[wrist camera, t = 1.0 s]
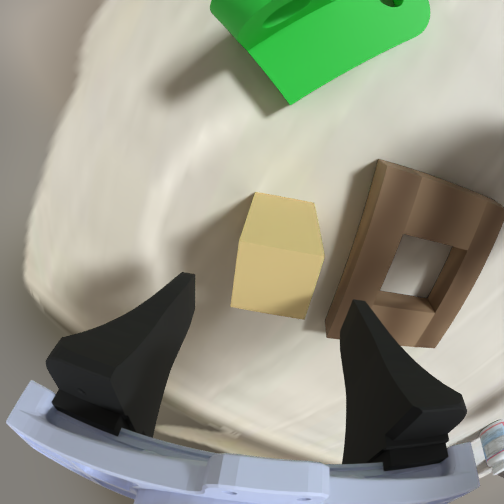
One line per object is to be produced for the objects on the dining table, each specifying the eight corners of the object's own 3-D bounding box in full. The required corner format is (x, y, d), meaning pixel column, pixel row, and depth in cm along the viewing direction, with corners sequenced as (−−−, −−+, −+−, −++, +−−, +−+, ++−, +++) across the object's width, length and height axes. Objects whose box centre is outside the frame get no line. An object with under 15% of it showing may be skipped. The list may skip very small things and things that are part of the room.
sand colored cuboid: (314, 203, 20) (324, 256, 14) (301, 253, 22) (304, 319, 16) (255, 191, 20) (239, 241, 14) (247, 243, 22) (230, 306, 16)
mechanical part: (290, 104, 17) (290, 109, 10) (232, 33, 15) (194, -3, 8) (433, 28, 12) (502, 7, 5) (380, -41, 10) (421, -92, 3)
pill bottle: (500, 425, 36) (512, 466, 26) (477, 437, 38) (487, 479, 28) (505, 414, 34) (519, 459, 24) (481, 427, 36) (492, 473, 26)
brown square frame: (494, 200, 17) (507, 210, 15) (428, 333, 24) (434, 348, 22) (378, 158, 17) (387, 165, 16) (324, 320, 24) (326, 337, 23)
